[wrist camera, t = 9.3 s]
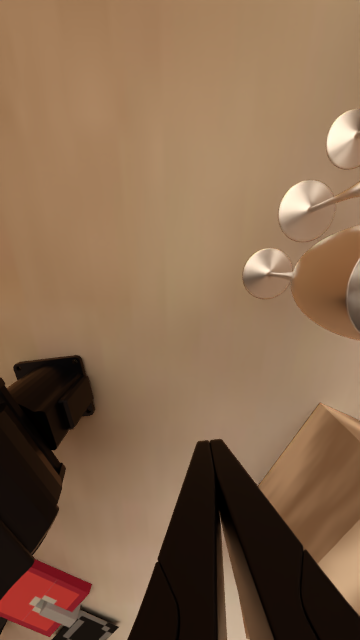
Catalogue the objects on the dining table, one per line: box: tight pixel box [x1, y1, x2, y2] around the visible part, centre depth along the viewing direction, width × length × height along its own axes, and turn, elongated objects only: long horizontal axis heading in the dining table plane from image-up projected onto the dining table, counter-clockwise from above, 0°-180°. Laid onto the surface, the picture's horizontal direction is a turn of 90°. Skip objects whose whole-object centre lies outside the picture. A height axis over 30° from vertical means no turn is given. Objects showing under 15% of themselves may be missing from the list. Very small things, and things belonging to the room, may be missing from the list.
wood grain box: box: [238, 403, 360, 639], centre depth 21 cm, size 13×20×8 cm
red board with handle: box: [0, 559, 119, 640], centre depth 28 cm, size 30×3×15 cm
